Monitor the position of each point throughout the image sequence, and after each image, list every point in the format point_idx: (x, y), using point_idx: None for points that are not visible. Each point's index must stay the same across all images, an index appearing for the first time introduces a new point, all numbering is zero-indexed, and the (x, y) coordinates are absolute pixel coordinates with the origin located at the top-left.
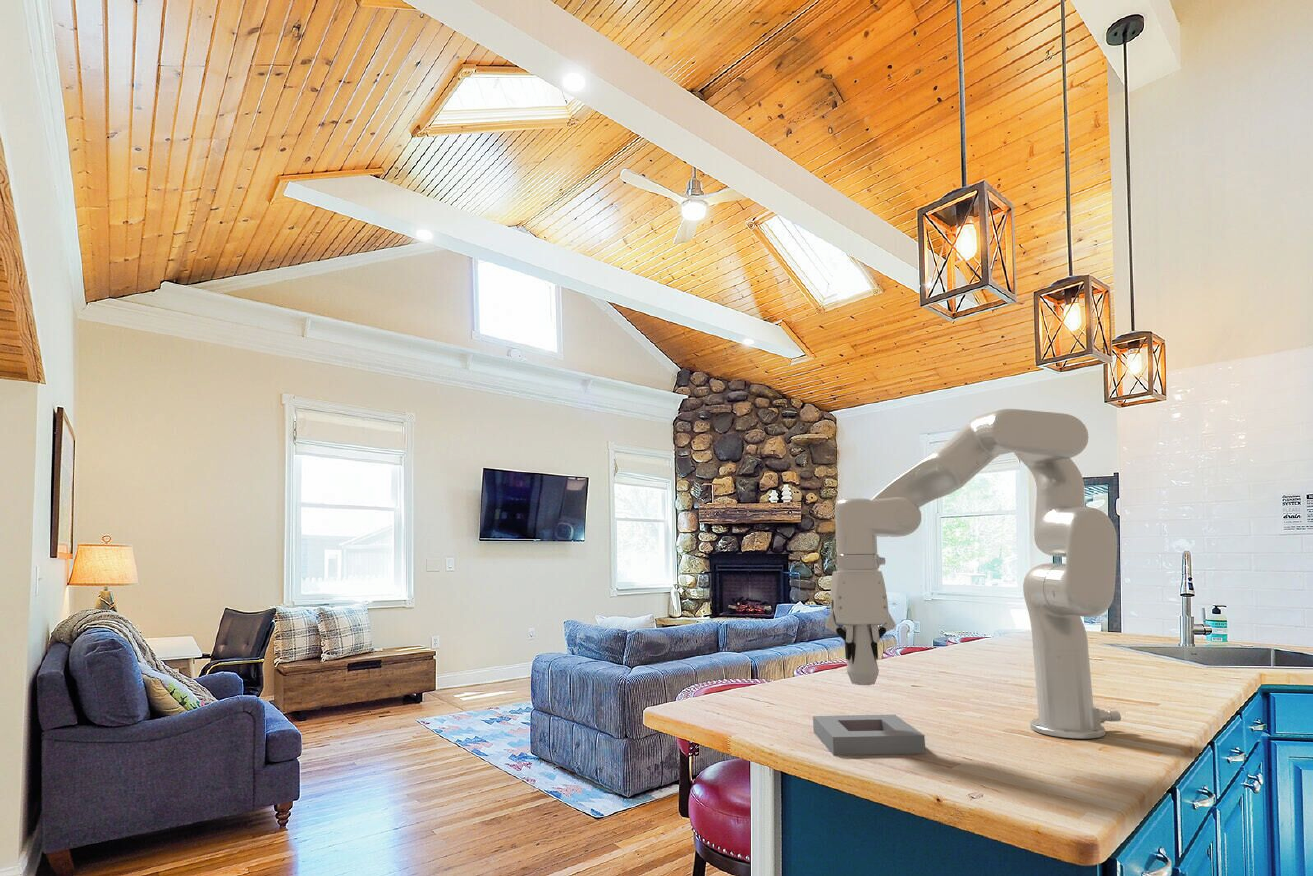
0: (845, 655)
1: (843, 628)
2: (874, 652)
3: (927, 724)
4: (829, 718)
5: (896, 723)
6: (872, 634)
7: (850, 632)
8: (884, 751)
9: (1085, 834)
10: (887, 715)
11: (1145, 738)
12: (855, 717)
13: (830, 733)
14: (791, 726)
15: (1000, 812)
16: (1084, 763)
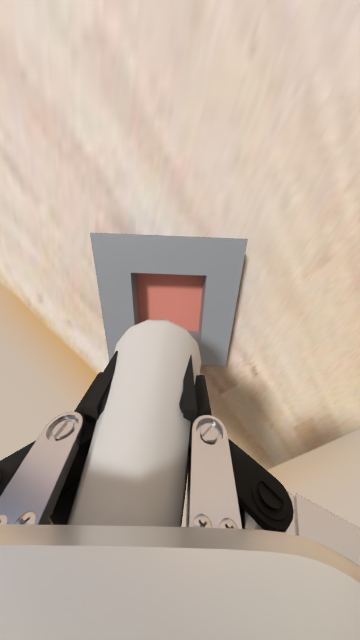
0: (96, 377)
1: (7, 507)
2: None
3: (319, 195)
4: (119, 257)
5: (219, 304)
6: (187, 503)
7: (66, 518)
8: None
9: None
10: (230, 245)
11: None
12: (167, 254)
13: (108, 347)
14: (63, 179)
15: None
16: (351, 393)
